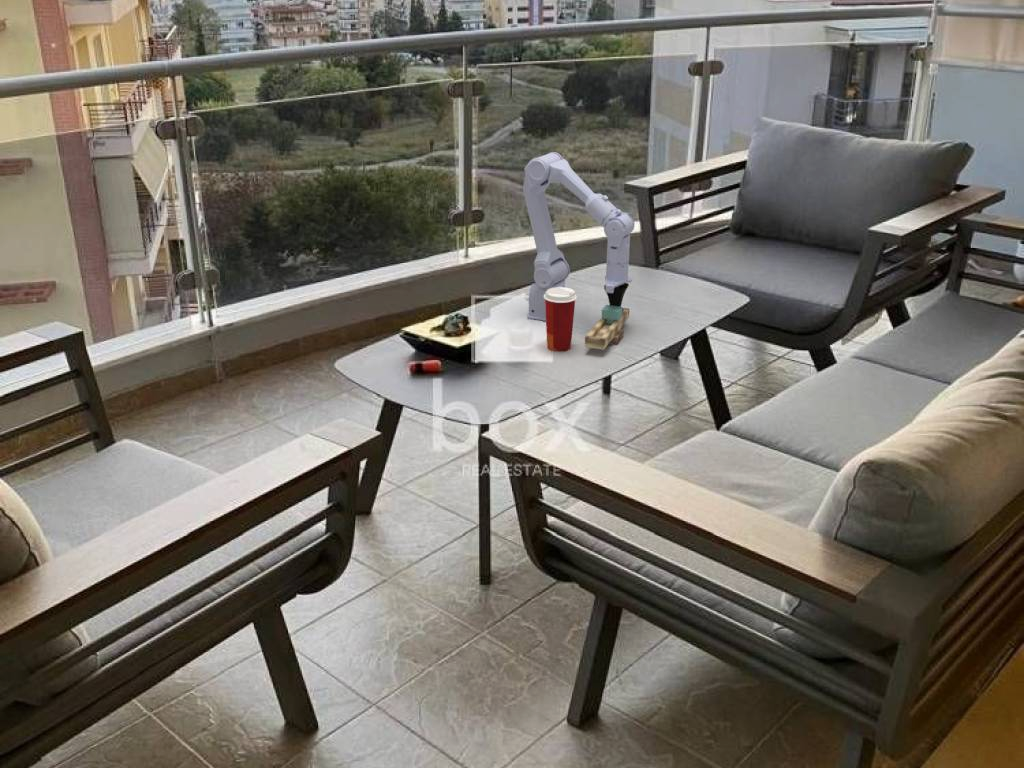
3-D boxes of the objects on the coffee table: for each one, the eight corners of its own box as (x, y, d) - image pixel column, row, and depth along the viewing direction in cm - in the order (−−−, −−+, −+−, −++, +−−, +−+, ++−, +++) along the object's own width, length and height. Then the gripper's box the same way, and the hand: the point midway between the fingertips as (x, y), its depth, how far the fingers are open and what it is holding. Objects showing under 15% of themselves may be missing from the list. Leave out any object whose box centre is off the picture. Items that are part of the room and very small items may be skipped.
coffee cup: (580, 345, 260) (582, 289, 253) (565, 355, 253) (567, 299, 247) (551, 338, 263) (553, 284, 257) (536, 349, 257) (537, 293, 251)
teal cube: (617, 325, 263) (618, 311, 261) (601, 323, 264) (601, 309, 262) (621, 320, 266) (622, 306, 264) (605, 318, 267) (606, 304, 266)
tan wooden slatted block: (607, 357, 252) (608, 340, 250) (580, 353, 255) (581, 336, 253) (632, 325, 273) (633, 309, 271) (607, 321, 275) (607, 305, 273)
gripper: (625, 271, 254) (622, 321, 259) (639, 254, 266) (636, 303, 272) (598, 267, 256) (596, 318, 262) (613, 251, 268) (611, 300, 274)
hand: (615, 310), depth 267 cm, fingers closed
